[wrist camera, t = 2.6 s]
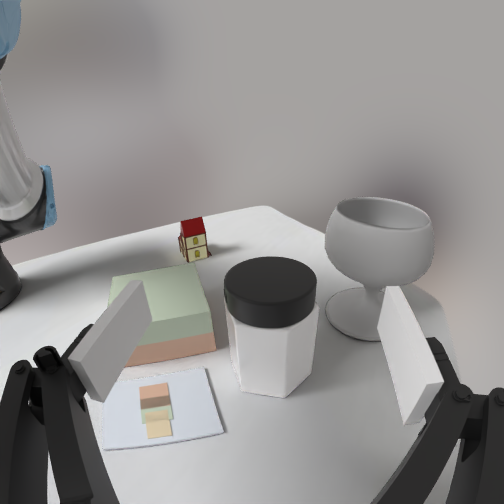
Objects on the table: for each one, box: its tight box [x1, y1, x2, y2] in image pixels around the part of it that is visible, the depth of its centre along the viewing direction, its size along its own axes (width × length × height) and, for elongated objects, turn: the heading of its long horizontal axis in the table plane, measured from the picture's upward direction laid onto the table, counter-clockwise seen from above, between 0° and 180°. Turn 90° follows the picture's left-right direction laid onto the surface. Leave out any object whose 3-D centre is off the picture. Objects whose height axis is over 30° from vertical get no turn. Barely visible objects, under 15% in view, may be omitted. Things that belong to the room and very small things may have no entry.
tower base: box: [107, 263, 216, 367], centre depth 37 cm, size 12×12×6 cm
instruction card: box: [102, 367, 224, 450], centre depth 26 cm, size 9×12×1 cm
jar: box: [224, 257, 319, 398], centre depth 29 cm, size 9×8×12 cm
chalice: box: [325, 197, 434, 341], centre depth 36 cm, size 14×14×15 cm
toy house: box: [178, 217, 212, 262], centre depth 57 cm, size 6×7×8 cm
